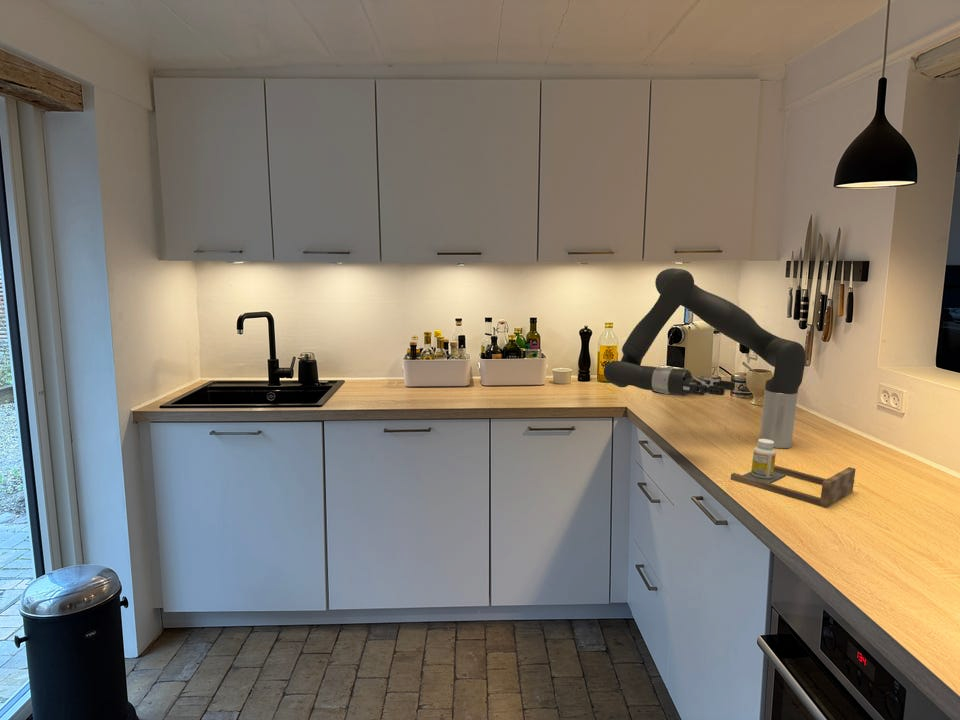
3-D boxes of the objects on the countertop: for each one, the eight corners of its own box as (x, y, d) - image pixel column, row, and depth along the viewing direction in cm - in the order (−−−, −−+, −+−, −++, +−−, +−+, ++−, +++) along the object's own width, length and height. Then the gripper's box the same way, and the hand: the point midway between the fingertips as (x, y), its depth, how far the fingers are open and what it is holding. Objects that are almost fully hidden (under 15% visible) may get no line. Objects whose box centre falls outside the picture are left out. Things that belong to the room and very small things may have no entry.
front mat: (759, 469, 171) (759, 467, 171) (785, 476, 166) (785, 474, 166) (738, 478, 163) (739, 476, 163) (765, 485, 158) (765, 484, 158)
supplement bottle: (757, 479, 162) (761, 443, 160) (747, 472, 167) (750, 437, 166) (777, 479, 162) (781, 443, 161) (766, 472, 168) (769, 437, 166)
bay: (760, 466, 174) (762, 445, 173) (852, 491, 156) (855, 468, 155) (730, 479, 163) (732, 457, 162) (826, 507, 145) (829, 483, 144)
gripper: (662, 371, 172) (721, 379, 162) (681, 365, 183) (738, 371, 173) (660, 398, 173) (719, 407, 163) (680, 389, 184) (736, 397, 174)
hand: (729, 388), depth 168 cm, fingers open, 8 cm apart
